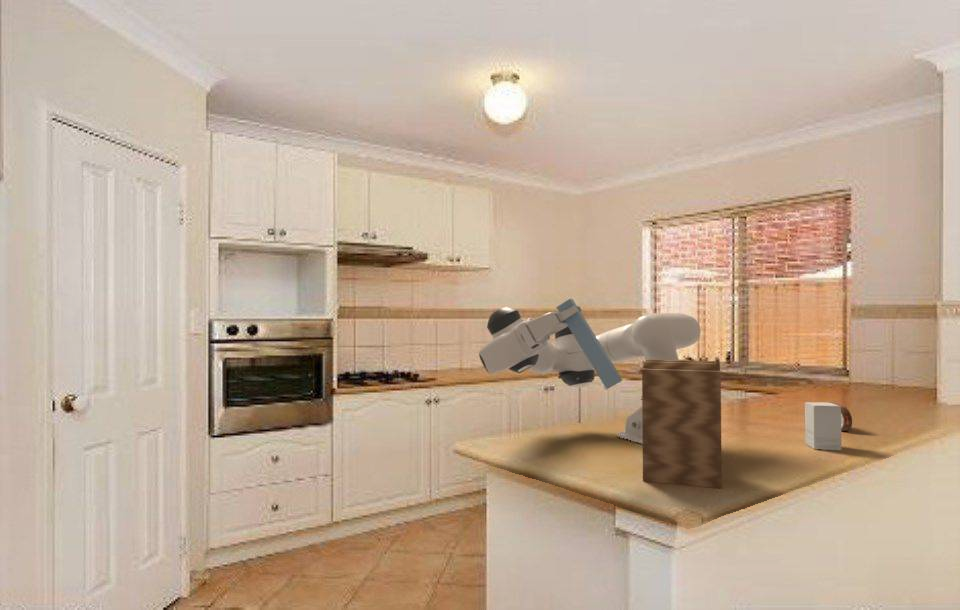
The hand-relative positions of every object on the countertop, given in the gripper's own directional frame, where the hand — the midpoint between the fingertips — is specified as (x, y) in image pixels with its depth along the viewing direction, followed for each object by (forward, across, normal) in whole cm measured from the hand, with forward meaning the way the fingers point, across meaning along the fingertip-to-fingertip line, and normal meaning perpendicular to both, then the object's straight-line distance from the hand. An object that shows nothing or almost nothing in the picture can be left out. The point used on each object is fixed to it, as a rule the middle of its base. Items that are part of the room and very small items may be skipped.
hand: (578, 308), depth 148 cm
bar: (-4, 0, -9) cm, 10 cm away
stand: (+1, 0, -47) cm, 47 cm away
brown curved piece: (+42, -77, -71) cm, 113 cm away
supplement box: (+34, -45, -66) cm, 87 cm away
